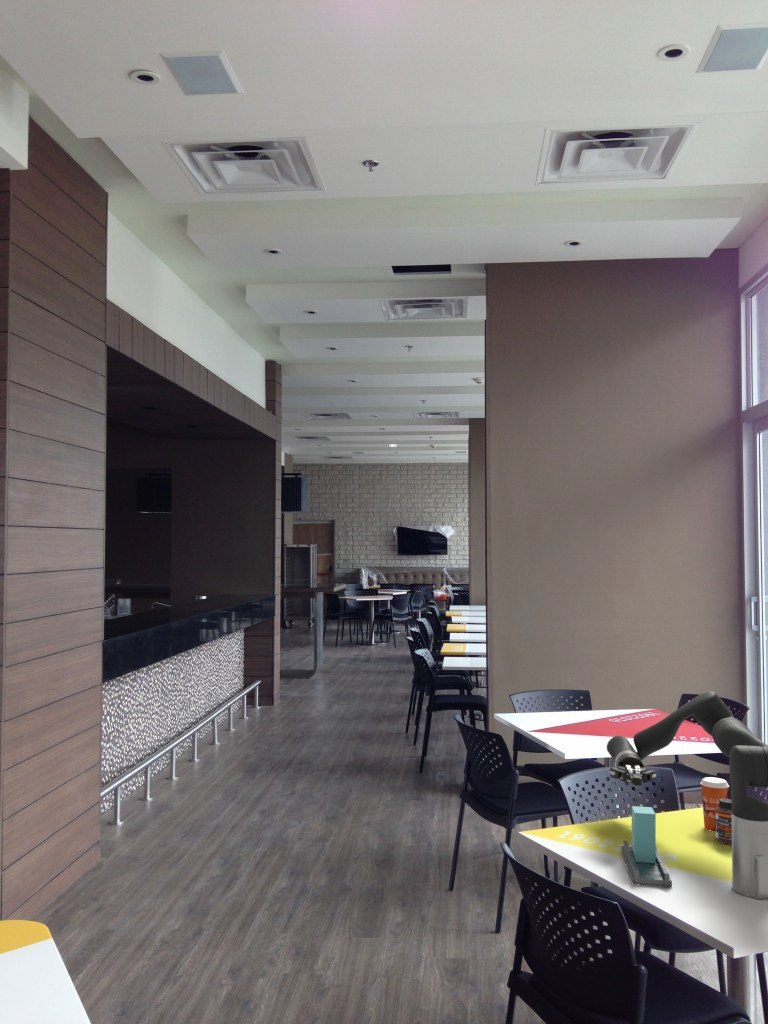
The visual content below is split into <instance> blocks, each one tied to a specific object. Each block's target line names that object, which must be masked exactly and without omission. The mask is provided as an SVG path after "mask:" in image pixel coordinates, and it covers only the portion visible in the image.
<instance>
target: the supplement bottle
mask: <svg viewBox="0 0 768 1024" xmlns="http://www.w3.org/2000/svg"><path fill="white" fill-rule="evenodd" d="M714 833H715V834H714V838H715V840H716V842H717V843H720V844H722V843H723V845H726V844H730V845H729V846H732V803H731V798H727V799H719V806H718V807H716V810H715V832H714Z"/></svg>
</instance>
